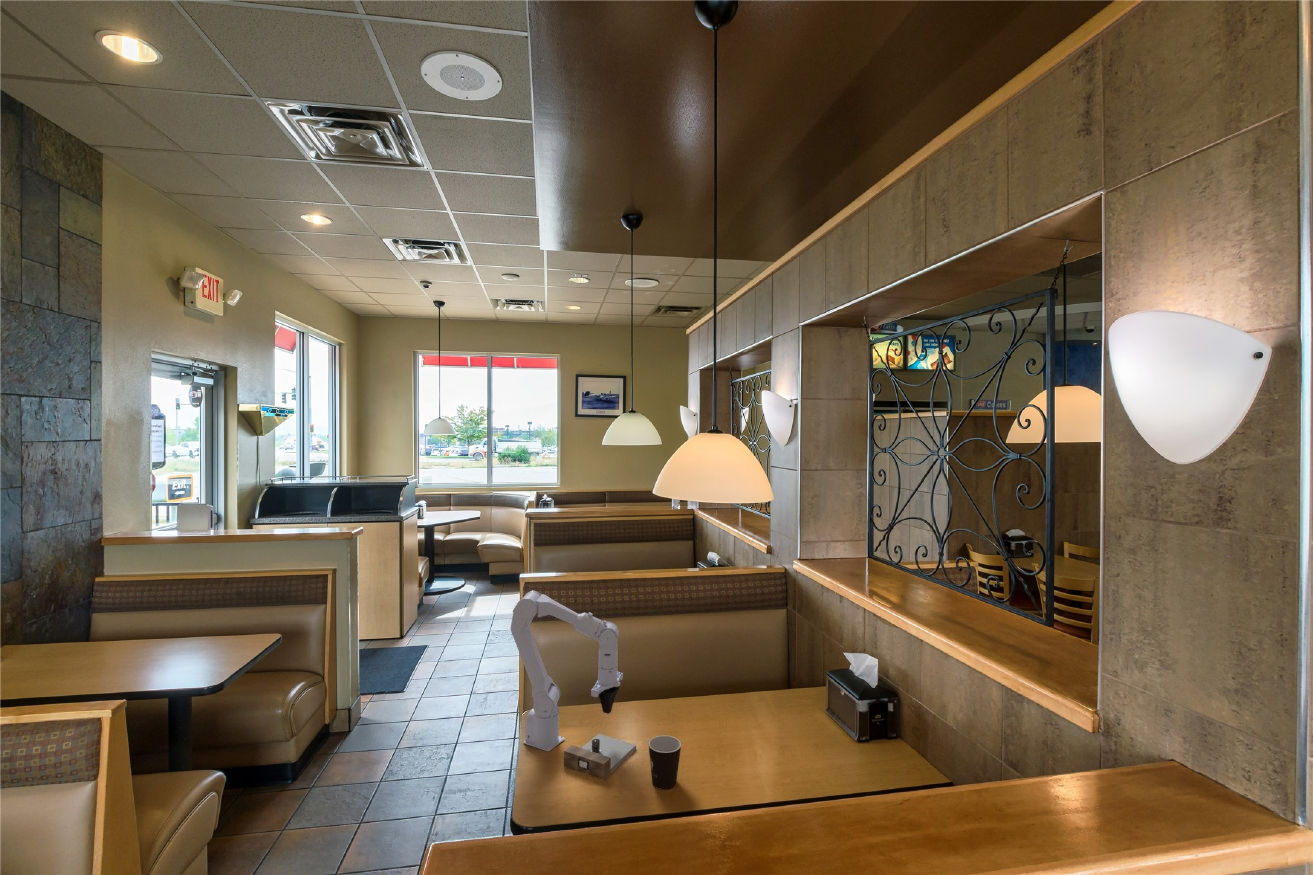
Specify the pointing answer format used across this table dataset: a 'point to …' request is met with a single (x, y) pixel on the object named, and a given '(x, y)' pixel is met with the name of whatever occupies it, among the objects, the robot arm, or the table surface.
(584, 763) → the bolt
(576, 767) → the block
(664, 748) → the coffee mug
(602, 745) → the door panel
